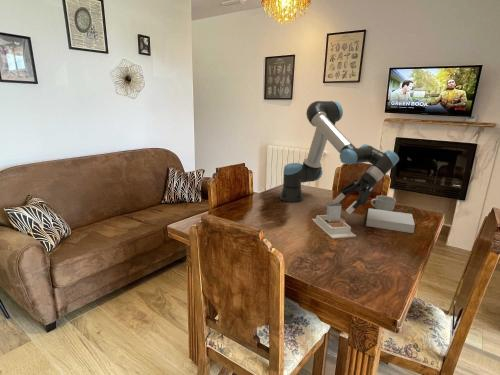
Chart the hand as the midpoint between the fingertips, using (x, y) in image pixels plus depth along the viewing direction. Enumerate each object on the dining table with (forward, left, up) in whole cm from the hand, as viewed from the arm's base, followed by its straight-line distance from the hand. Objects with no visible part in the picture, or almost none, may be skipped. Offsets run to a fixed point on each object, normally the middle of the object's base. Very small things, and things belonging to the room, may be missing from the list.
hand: (340, 207), depth 146 cm
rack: (-3, 0, -11) cm, 11 cm away
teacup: (+29, +31, -11) cm, 43 cm away
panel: (-3, 0, -10) cm, 10 cm away
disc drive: (+27, +10, -11) cm, 31 cm away
